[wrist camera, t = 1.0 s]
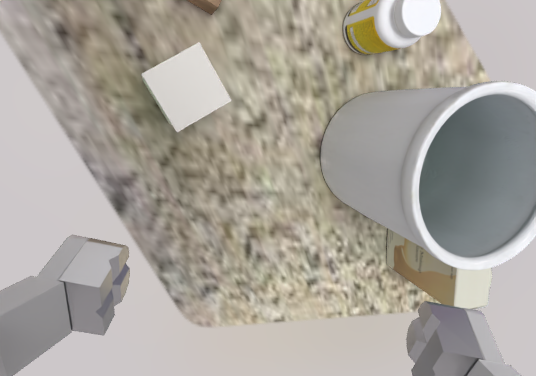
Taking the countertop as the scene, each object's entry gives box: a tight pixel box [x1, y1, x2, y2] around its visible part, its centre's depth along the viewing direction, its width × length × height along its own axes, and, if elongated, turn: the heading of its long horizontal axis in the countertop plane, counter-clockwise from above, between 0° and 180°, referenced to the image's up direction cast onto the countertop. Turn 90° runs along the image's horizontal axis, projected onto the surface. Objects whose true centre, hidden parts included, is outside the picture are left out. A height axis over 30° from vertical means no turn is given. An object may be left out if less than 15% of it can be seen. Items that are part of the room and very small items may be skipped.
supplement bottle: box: [343, 0, 441, 55], centre depth 41 cm, size 5×5×10 cm
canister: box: [141, 42, 231, 132], centre depth 36 cm, size 5×5×11 cm
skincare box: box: [387, 229, 492, 309], centre depth 46 cm, size 6×4×12 cm
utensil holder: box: [321, 81, 536, 271], centre depth 40 cm, size 15×15×18 cm
